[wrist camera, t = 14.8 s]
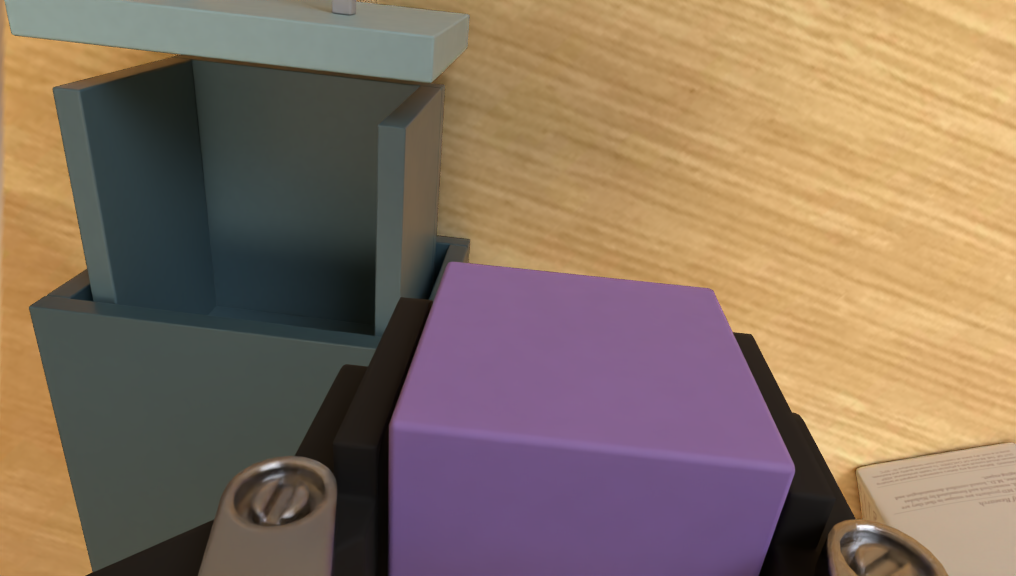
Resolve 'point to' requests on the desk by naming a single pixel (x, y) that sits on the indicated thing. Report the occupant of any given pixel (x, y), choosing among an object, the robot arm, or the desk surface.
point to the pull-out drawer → (257, 154)
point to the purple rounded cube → (580, 433)
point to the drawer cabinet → (179, 404)
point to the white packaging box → (950, 506)
